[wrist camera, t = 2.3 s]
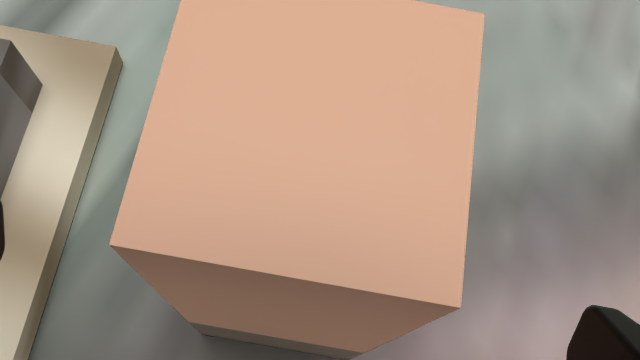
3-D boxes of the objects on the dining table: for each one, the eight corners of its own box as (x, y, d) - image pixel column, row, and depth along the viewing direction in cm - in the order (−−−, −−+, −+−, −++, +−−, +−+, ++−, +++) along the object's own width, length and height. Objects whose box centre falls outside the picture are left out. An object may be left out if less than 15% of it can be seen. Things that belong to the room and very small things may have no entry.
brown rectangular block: (348, 360, 18) (460, 307, 8) (201, 334, 18) (109, 244, 7) (368, 218, 19) (484, 13, 9) (233, 194, 19) (192, -42, 9)
